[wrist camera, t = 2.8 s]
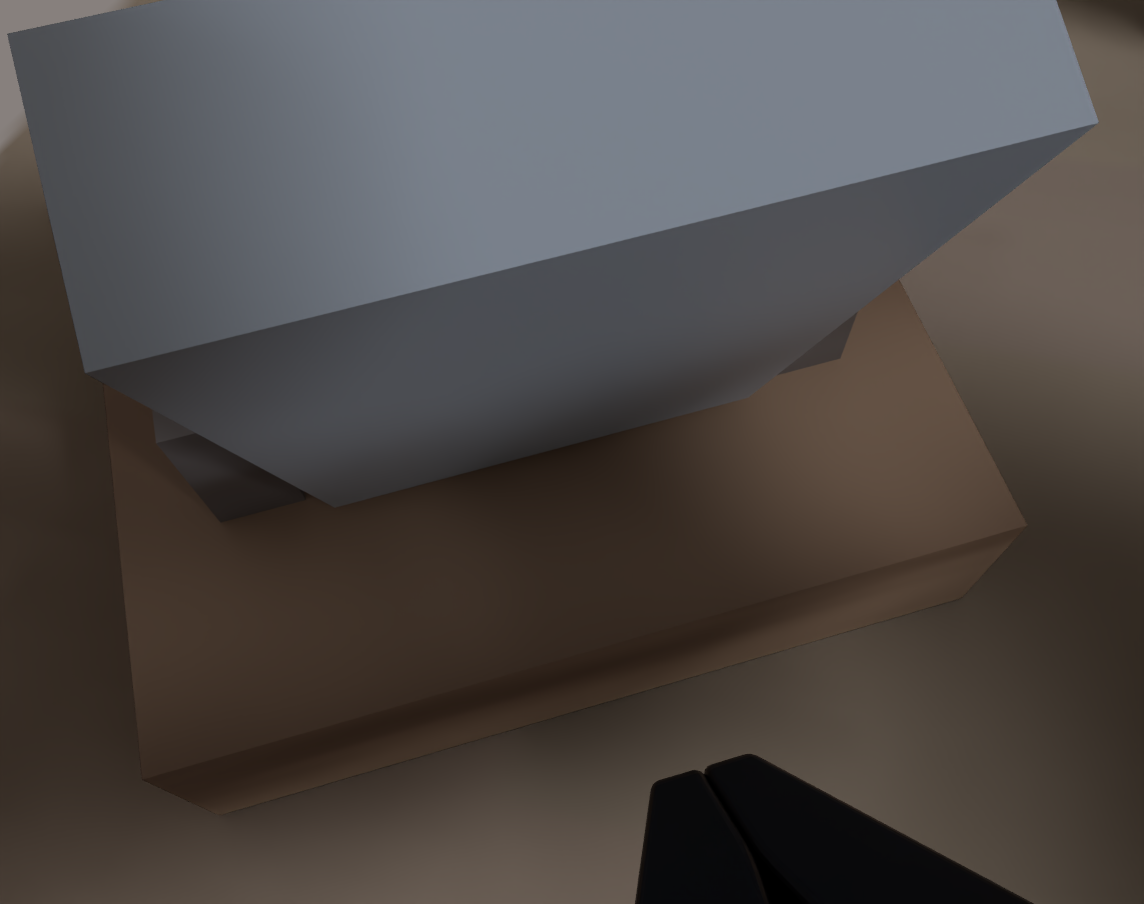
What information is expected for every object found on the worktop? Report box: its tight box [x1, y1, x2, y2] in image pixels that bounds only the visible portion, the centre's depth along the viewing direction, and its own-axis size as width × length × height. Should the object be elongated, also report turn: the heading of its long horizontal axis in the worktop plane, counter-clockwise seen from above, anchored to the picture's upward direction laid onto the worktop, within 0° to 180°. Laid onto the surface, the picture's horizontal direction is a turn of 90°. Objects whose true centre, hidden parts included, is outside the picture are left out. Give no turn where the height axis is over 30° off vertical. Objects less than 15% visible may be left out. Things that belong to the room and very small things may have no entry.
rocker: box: [7, 0, 1099, 508], centre depth 11 cm, size 2×6×10 cm, turn 106°
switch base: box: [103, 280, 1027, 815], centre depth 16 cm, size 10×12×5 cm
